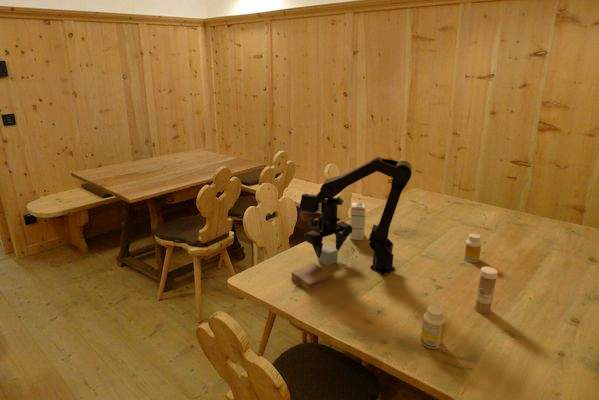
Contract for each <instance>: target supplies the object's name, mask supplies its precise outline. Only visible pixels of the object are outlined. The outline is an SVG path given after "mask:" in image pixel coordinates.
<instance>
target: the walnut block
mask: <svg viewBox="0 0 599 400" xmlns="http://www.w3.org/2000/svg"><path fill="white" fill-rule="evenodd" d="M290 275H291V279H292V280H293V281H295V282H296V283H297V284H299V285H300V286H301V287H304V288H305V290H307V291H309V292H311V291H313V290H316V289H318V288H320V287H323V286H326V285H328V284H330V283H333V282H334V274H333V273H331V272H329V271H328V270H326V269H324V268H323V267H321V266H319V265H318V264H317V263H311V264H309V265H306V266H304V267H300V268H298V269H294V270H293V271H291V274H290Z"/></svg>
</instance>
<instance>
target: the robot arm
mask: <svg viewBox="0 0 599 400" xmlns="http://www.w3.org/2000/svg"><path fill="white" fill-rule="evenodd" d="M376 172H378V173H381V174H383V175H385V176H387V177H390V178H392V179H391V188H390V190H389V194H388V197H387V199H386V202H385V205H384V207H383V211H382V214H381V216H380V221H379V222H378V224H377V225H376V224H373V226H372V229H371V232H370V233H369V237H368V240H367V241H368V242H369V245H368V246H369V247H370V249H371V250H372V251H373V255H372V264H371V265H370V266H369V267H370V269H372V270H374V271H376V272H378V273H380V274H381V275H385V274H386V275H387V274H388V273H390V272H392V271H395V270H396V267H394V266H393V264H394V254H393V248H394V243H393V242H392V241H391V240H390V239H389V234H390V233H389V232H390V226H391V223H392V220H393V219H394V218H393V217H394V215H395V212H396V209H397V206H398V205H399V201H400V199H401V198H400V197H401V194H402V193H403V191H404V189H405V188H406V186H407V185H408V183H409V181H410V180H411V177H412V173H413V166H412V165H411V163H410V162H409V161H406V160H400V161H399V160H395V159H387V158H383V157H380V156H376V157H373V159H371V160H369V161H368V162H365V163H363V164H361V165H360V166H358V167H355V168H354V169H352V170H350V171H348V172H347V173H344V174H342V175H338V176H334V177H330V178H327V179H326V180H325V181H324V182H323V183H322V185H321V186H320V189H319V191H318V192H317V194H311V193H310V194H309V193H306V192H304V193H302V194H301V198H300V204H299V212H300V213H305V214H317V213H318V212H320V211H321V212H320V215H319V216H318V217H317V218H314V217H310V218H307V219H306V225H307V227H308V228H311V229H316V231H314V230H311V231H307V232H305V233H304V234H303V241H305V242H307V243H309V244H310V245H312V248H313V249H314V252H315V255H316V258H317V259H318V258H320V256H321V251H322V247H324V246H323V245H324V243H323V240H324V239H323V238H326V237H329V236H332V235H335V249H337V250H338V252H339V251H340V249H341V248H342V246H343V244H345V242H346V240H347V239H348V237H350V233H352V226H351V225H350V224H349V223H347V222H345V221H340V217H339V216H338V208H339V207H338V206H342V205H343V203H344V200H343V199H342V198H341V197H340V196H339V194H340V193H341V192H342V191H343V190H344V189H346V188H347V187H349V186H350V185H353V184H355V183H357V182H358V181H360V180H363V179H364V178H366V177H368V176H370V175H372V174H374V173H376ZM336 196H337V197H336ZM339 221H340V222H339ZM317 231H320V232H317Z"/></svg>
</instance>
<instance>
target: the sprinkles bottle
mask: <svg viewBox="0 0 599 400" xmlns="http://www.w3.org/2000/svg"><path fill="white" fill-rule="evenodd" d="M479 275H480V276H479V282H478V285H477V290H476V296H475V297H476V298H475V304H474V309H475V311H477V312H479V313H481V314H489V313H490V312H491V311H492V310H491V307H492V302H493V300H494V294H495V289H496V283H497V278H498V277H499V276H498V275H499V271H498V270H497V269H496V268H494V267H491V266H482V267H481V269H480V273H479Z"/></svg>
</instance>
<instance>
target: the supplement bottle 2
mask: <svg viewBox="0 0 599 400" xmlns="http://www.w3.org/2000/svg"><path fill="white" fill-rule="evenodd" d="M481 249H482V242H481V235H480V234H477V233H469V234H468V239H466V241H465V245H464V252H463V259H464V261H467V262H469V263H478V262H479V260H480V256H481V255H480V254H481Z"/></svg>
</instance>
